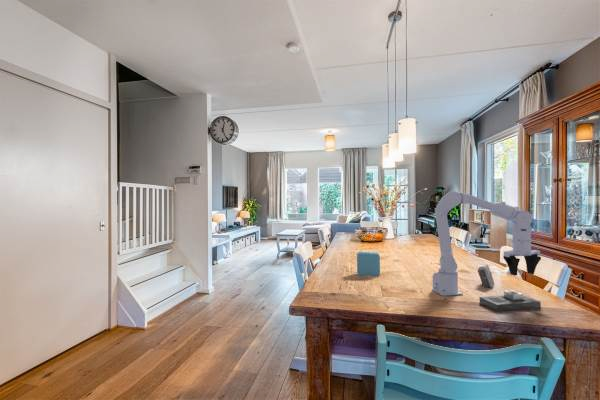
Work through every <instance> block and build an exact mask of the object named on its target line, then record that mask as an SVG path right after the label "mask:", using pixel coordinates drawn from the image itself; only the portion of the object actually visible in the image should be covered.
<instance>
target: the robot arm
mask: <svg viewBox="0 0 600 400" xmlns="http://www.w3.org/2000/svg"><path fill="white" fill-rule="evenodd" d="M465 204H467V205H468V204H470V205H473V206H476V207H479V208H483V209H484V210H485V209H486V210H488V211H489V212H490V214H491V215H492V216H496V217H499V218H501V219H503V220H507V221H511V222H512V232H511V233H512V249H511V250H505V251H504V250H503V259H504V261H505V263H506V264H507V267H508V269H509V272H510V275H513V276H517V275H518V266H519V263H520V261H521V258H518V257H524V260H525V266H526V272H527V274H529V275H534V274H535V272H536V268H537V266H538V264H539V262H540V261H541V260H542V256H541V250H537V249H532V231H531V230H532V229H531V223H532V222H533V221H534V217H533V215H532V213H531V212H530V211H528V210H523V209H520V207H519V206H512V205H509V204H506V202H505V201H496V202H491V201H488V200H486V199H483V198H480V197H477V196H474V195H472V194H469V193H464V192H458V191H456V190H451V191H449V192H446V193H445V194H444V195H443V196H442V197H441V199H440V200H439V202H438V203H437V205H436V207H435V209H434V214H435V222H436V227H437V229H436V230H437V237H438V242H439V249H440V257H439V265H440V268H439V269H438V271H437V272H434V273H433V274H432V288H431V290H432V291H433V292H435V293H437V294H438V295H441V296H443V297H444V296H446V297H447V296H456V295H457V296H458V295H459V296H460V295H464V294H463V292H461V291H459V282H458V281H459V279H458V278H459V277H458V276H459V275H458V273H459V272H458V270H457V269H458V264H457V262H456V258H454V253H453V247H452V241H451V235H450V227H449V221H448V213H449V212H450V211H451V210H452V209H454V208H455V207H457V206H458V205H465Z"/></svg>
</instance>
